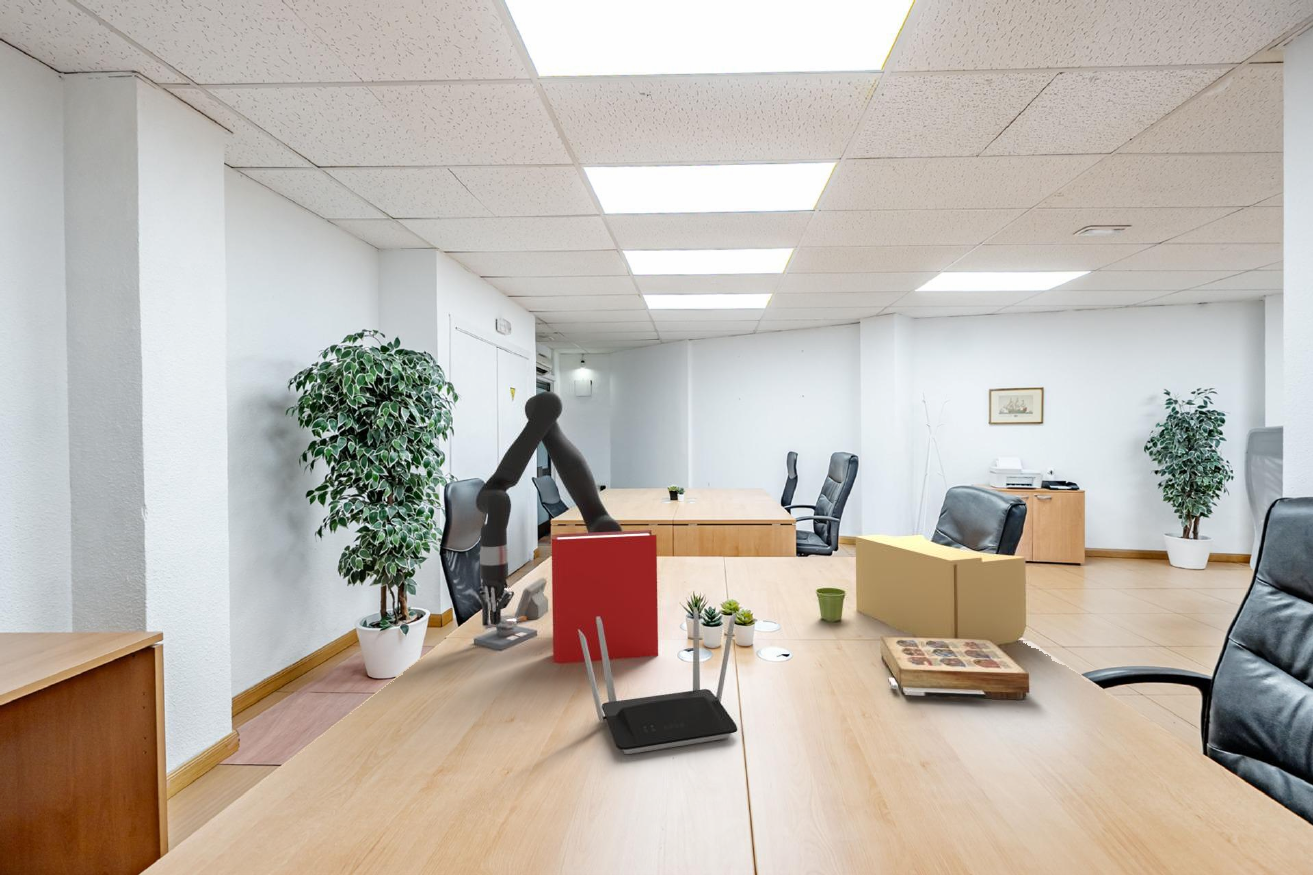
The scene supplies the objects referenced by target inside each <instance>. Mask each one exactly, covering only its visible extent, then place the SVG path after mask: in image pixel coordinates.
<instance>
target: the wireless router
mask: <svg viewBox="0 0 1313 875" xmlns="http://www.w3.org/2000/svg"><path fill="white" fill-rule="evenodd" d="M736 615H737V614H736V613H734V614H733V615H732V616H731V617H730V620H729V622H728V628H727V635H726V639H725V644H724V650H723V651H724V652H723V658H722V662H721V669H720V673H719V678H718V679H719V680H718V685H717V691H716V695H715V694H714V693H713V692H712V691H711V690H710V689H706V688H703V689H701V682H700V681H701V678H700V677H701V676H700V674H701V673H700V672H701V671H700V668H701V667H700V624H699V619H700V618H699V611H698V608H697V607H696V606H695V607H694V606H693V628H692V629H693V631H692V632H693V635H692V637H693V638H692V640H693V641H692V648H693V649H692V650H693V651H692V652H693V653H692V656H693V658H692V690H688V691H679V692H674V693H666V694H659V695H651V696H650V695H649V696H645V697H644V696H643V697H638V698H637V697H635V698H629V699H621V700H617V696H616V690H615V685H614V684H615V683H614V680H613V674H612V669H611V663H610V660H609V657H608V652H607V646H606V641H605V635H604V630H603V625H602V621H601V618H600V616H599V617H596V619H597V628H598V635H599V641H600V648H601V654H602V660H601V661H602V666H603V673H604V679H605V685H606V694H607V700H608V702H607V701H606V702H603V703H602V704H601V699H600V695H599V690H598V687H597V683H596V682H597V681H596V677H595V673H594V668H593V664H592V661H591V659H590V655H589V651H588V646H587V642H586V638H585V636H584V635H583V634H582V633H581V632H580V631H579V629H578V632H579V636H580V640H581V645H582V649H583V653H584V658H585V662H584V663H585V666H586V670H587V673H588V674H587V675H588V679H589V684H590V688H591V691H592V696H593V701H594V704H595V709H596V712H597V713H596V714H597V718H598V721H599V723H601V724H602V723H604V722H605V720H606V721H607V725H608V727H609V730H610V733H611V735H612V739H613V741H614V745H615V746H616V747H617V749H619V750H622V751H623V753H624V754H625V755H631V754H638V753H642V752H643V753H644V752H649V751H650V752H651V751H657V750H661V749H668V748H676V747H681V746H682V747H683V746H686V745H693V744H700V743H705V742H706V743H707V742H713V741H718V740H724V739H725V740H726V739H729V737H730V736H731V735H732V734H734V733H737V731H738V727H737V724H736V723H735V721H734V720H733V718H732V717H731V715H730V714H729V713H728V711H727V710H726V708H725V706H724V705H723V704H722V703H721V702H722V697H723V692H724V691H723V690H724V685H725V680H726V673H727V667H728V662H729V661H728V660H729V655H730V650H731V645H732V638H733V633H734V628H735V622H736Z"/></svg>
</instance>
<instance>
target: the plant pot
mask: <svg viewBox="0 0 1313 875" xmlns="http://www.w3.org/2000/svg"><path fill="white" fill-rule="evenodd" d="M815 594H816V597H817V600H818V605H819V613H820V617H821V620H824V621H826V622H837V621H841V620H842V618H843V609H844V600H845V596H846V594H847V591H846V590H844V589H842V588H836V587H819V588H816V589H815Z"/></svg>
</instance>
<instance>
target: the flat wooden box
mask: <svg viewBox="0 0 1313 875" xmlns="http://www.w3.org/2000/svg"><path fill="white" fill-rule="evenodd" d="M879 642H880V654H881V661H882V662H883V665H884V666H885V668H887V669H890V671H891V673H892V674H893V676H894V677H887V678H888V679H887V681H888V683H889V685H890V687H891V689H895V690H899V692H900V694H901V695H905V696H918V697H933V698H935V697H936V698H937V697H938V698H954V699H960V698H974V699H975V698H976V699H979V698H980V699H986V698H987V699H991V700H1017V701H1018V700H1022V699H1023V700H1025V699H1026V698H1027V694H1030V673H1029V672H1028V671H1026V669H1025V668H1023V667H1022V666H1021V665H1020V664H1018V663H1017V662H1016V660H1014V659H1013V658H1012V657H1011V656H1009V655H1008V654H1007V653H1006V652H1004V651H1003V649H1001V648H1000V647H999V646H998V645H995V644H994V643H993V642H992V641H991V640H990V639H958V638H919V637H916V636H914V637H912V636H911V637H909V636H908V637H907V636H880V637H879Z"/></svg>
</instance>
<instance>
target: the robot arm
mask: <svg viewBox="0 0 1313 875" xmlns="http://www.w3.org/2000/svg"><path fill="white" fill-rule="evenodd" d="M563 407H564V406H563V402H562V399H561V398H560V396H559V395H558V394H557V393H555V392H552V391H542V392H539V393H537V394H536V395H533V396H531V397H530V398H529V399H528V400H527V401H526V402H525V406H524V414H525V416H526V419H527V422H526V424H525V426H524V427H523V429H522V431H521V432H520V434H519V435H518V436H517V437H516V438H515V439H514V442H512V444H511V445H510V446H509V448H508V449H507V451H506V452H505V454H504V455H503V457H502V458H501V461H500V463H499V464H498V466H497V468H496V469H495V472H494V473H493V474H492V475H491V476H490V477H489V479H488V480H486V482H485V483H484V484H483V486H482V487H481V488H480V489H479V491H478V493H477V495H476V499H475V506H476V508H477V511H479V512H480V513H482V514H485V515H487V519H486V523H485V524H483V525H482V526H481V527H480V550H479V551H480V552H479V564H480V565H479V571H480V574H479V577H480V580H482V582H481V586H479V587H477V588H476V589H475V592H476V594H477V596H478V598H479V600H480V602H481V605H482V604H483V606H484V607H485V608H486V607H487V608H488V610H489V623H491V624H494V625H496V624H499V623H500V621H501V616H502V613H501V612H502V610H503V609H506V608H507V607H508V605H509V603H510V602H511V600H512V598H513V597H514V595H515V592H514V591H510V589H509V587H508V586H509V585H508V582H507V580H508V578H509V550H508V536H507V534H508V533H507V532H508V531H507V528H508V525H509V522H510V516H511V510H512V500H511V497H510V495H509V494H508V492H507V491H508V490H509V489H510V488H514V487H515V486H516V485H518V483H519V481H520V479H521V477H522V476H523V474H524V472H525V470H526V468H527V466H528V465H529V462H530V461H531V459H532V458H533V455H534V453H535V451H536V450H537V448H538V447H539V445H540V443H541V442H542V444H543V446H544V448H545V451H546V453H547V454H548V457H549V458H550V460H551V462H552V464H553V466H554V469H555V470H556V473H557V474H558V477H559V479H560V480H561V482H562V484H563V486H564V488H565V489H566V491H567V492H568V495H569V497H570V498H571V499H572V501H573V502H574V504H575V505H576V507H577V509H578V510H579V513H580V515H581V518H582V520H583V522H584V525H585V528H586V531H587V533H597V532H620V531H623V528H622V525H621V523H619V521H618V520H616V519H614V518H612V516H611V515H610V514H609V513H608V511H607V509H606V507H605V506H604V504H603V502H602V501H601V498H600V496H599V493H598V488H597V486H596V481H595V478H594V474H593V473H592V470H591V468H590V466H589V464H588V462H587V460H586V459H585V457H584V455H583V453H582V452H581V451H580V450H579V449H578V447H577V446H576V445H574V443H572V441H570V440H569V439H568V437H567V436H566V434H564V432H563V431H562V429H561V426H560V425H559V423H558V421H557V420H558V419H559V417H560V416H561V414H562V412H563Z"/></svg>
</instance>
